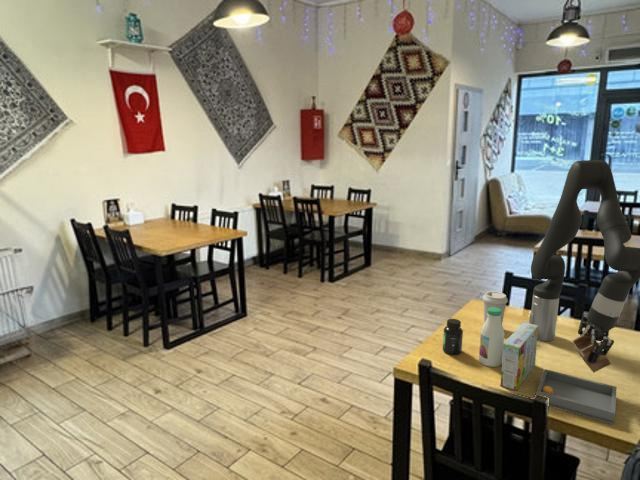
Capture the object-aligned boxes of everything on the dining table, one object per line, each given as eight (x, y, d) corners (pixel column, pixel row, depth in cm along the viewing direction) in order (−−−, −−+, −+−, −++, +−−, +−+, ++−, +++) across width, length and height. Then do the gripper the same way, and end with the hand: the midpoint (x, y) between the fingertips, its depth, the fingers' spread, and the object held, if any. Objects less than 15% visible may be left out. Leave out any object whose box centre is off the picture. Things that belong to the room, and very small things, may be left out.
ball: (551, 397, 137) (543, 389, 138) (545, 398, 140) (538, 390, 141) (557, 391, 138) (549, 383, 139) (551, 392, 141) (544, 384, 142)
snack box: (518, 360, 163) (523, 321, 160) (535, 365, 160) (540, 325, 156) (498, 385, 147) (502, 342, 144) (516, 391, 144) (521, 347, 140)
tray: (535, 402, 138) (536, 391, 137) (543, 378, 151) (544, 369, 150) (613, 424, 128) (615, 413, 127) (614, 397, 140) (616, 386, 140)
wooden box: (600, 353, 145) (587, 332, 142) (610, 364, 140) (597, 342, 137) (584, 361, 146) (571, 341, 144) (593, 372, 141) (580, 351, 138)
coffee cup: (484, 322, 195) (487, 289, 192) (507, 327, 190) (510, 293, 187) (477, 330, 188) (479, 295, 184) (501, 336, 182) (504, 300, 179)
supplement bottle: (440, 353, 169) (442, 323, 166) (444, 345, 175) (446, 316, 172) (459, 356, 166) (462, 326, 163) (462, 348, 172) (465, 319, 169)
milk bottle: (501, 358, 165) (506, 306, 160) (502, 369, 157) (507, 314, 153) (478, 355, 167) (482, 304, 162) (478, 365, 160) (482, 312, 155)
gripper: (581, 295, 143) (563, 341, 149) (607, 320, 129) (585, 369, 135) (604, 299, 143) (585, 344, 149) (633, 323, 129) (610, 372, 136)
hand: (585, 355), depth 142 cm, fingers closed on wooden box, 5 cm apart
